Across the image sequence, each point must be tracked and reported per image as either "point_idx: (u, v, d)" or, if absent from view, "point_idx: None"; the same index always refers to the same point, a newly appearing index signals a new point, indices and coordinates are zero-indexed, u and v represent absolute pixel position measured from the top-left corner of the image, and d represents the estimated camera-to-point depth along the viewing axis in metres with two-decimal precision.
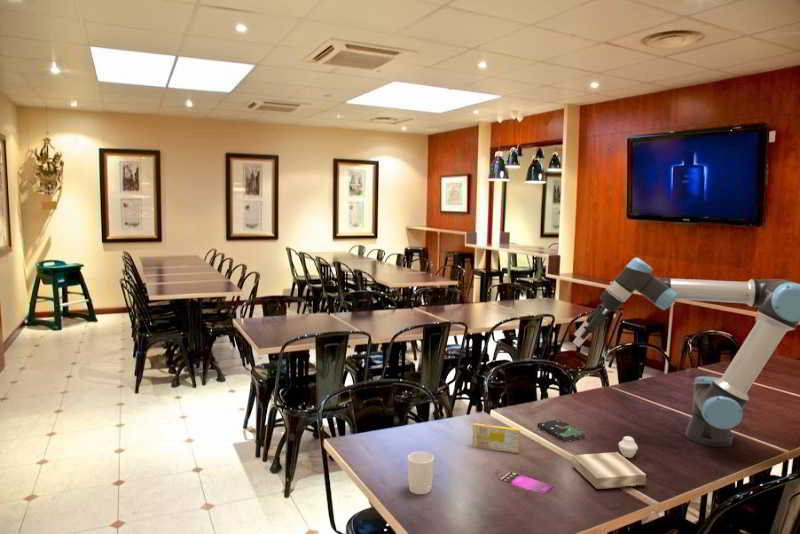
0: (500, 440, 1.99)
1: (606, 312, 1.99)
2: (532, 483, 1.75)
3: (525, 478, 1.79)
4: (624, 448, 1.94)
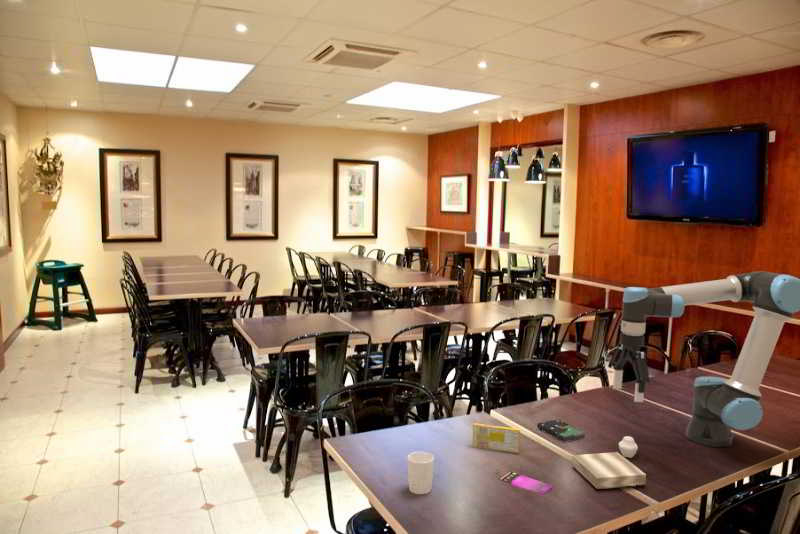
0: (500, 440, 1.99)
1: (644, 355, 1.87)
2: (532, 483, 1.76)
3: (525, 478, 1.79)
4: (624, 448, 1.94)
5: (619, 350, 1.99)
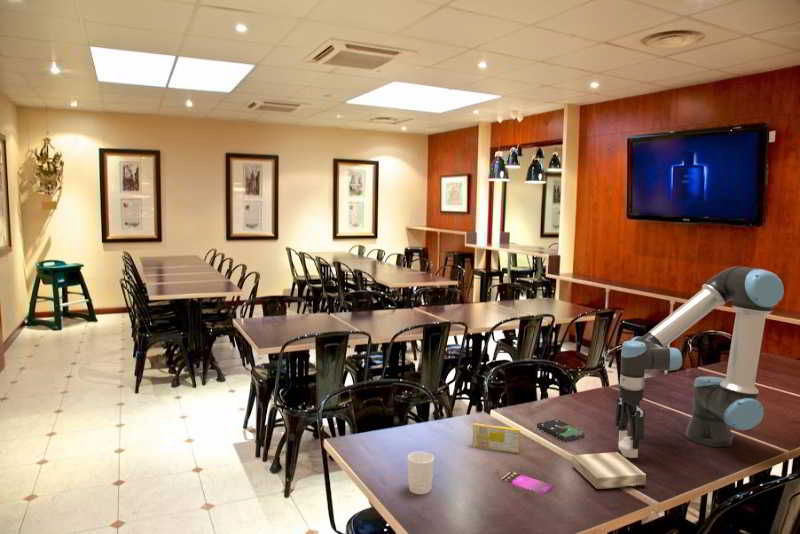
0: (500, 440, 1.99)
1: (643, 414, 1.88)
2: (533, 483, 1.76)
3: (526, 478, 1.79)
4: (624, 448, 1.94)
5: (619, 406, 1.99)
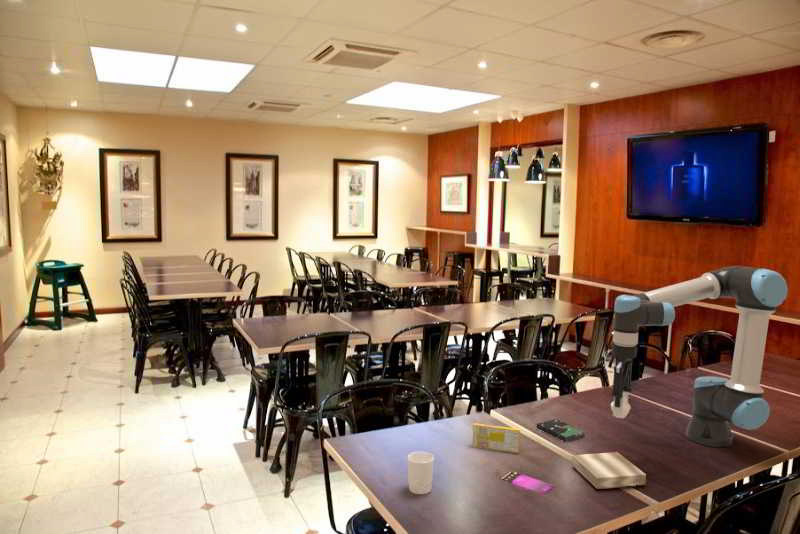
0: (500, 440, 1.99)
1: (620, 370, 1.80)
2: (533, 483, 1.76)
3: (526, 477, 1.79)
4: (611, 405, 1.87)
5: None
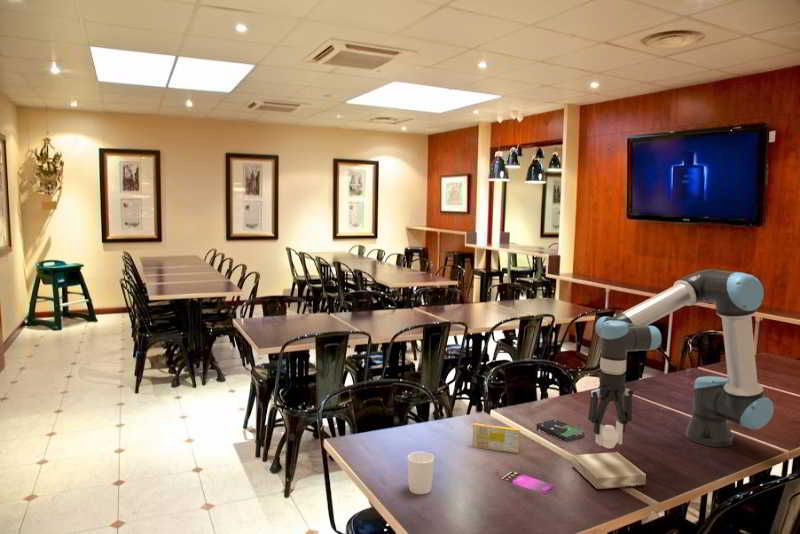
0: (500, 440, 1.99)
1: (592, 395, 1.76)
2: (533, 482, 1.76)
3: (526, 477, 1.79)
4: None
5: (624, 395, 1.80)
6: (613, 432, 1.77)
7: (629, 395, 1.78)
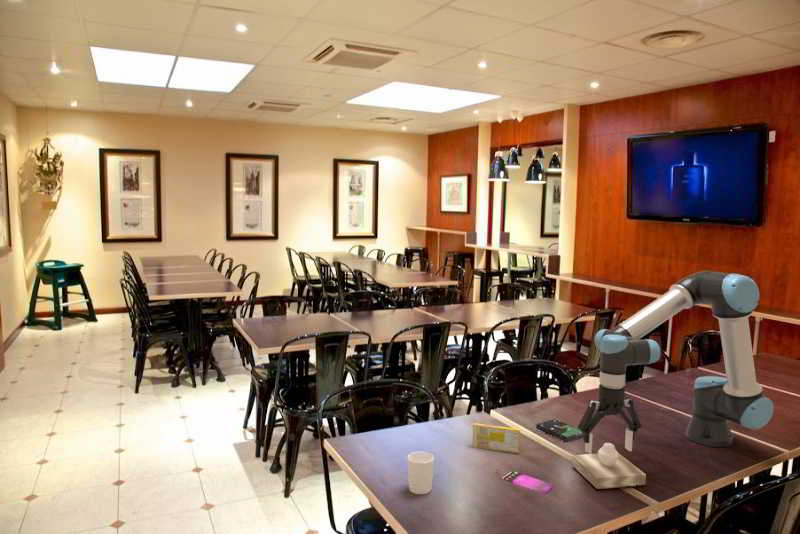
0: (500, 440, 1.99)
1: (591, 404, 1.76)
2: (533, 482, 1.76)
3: (527, 477, 1.79)
4: None
5: (626, 406, 1.80)
6: (612, 450, 1.78)
7: (630, 405, 1.78)
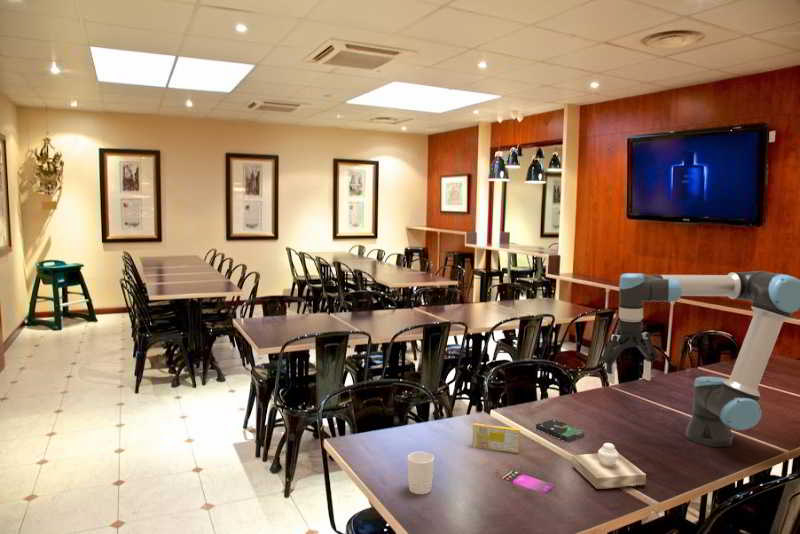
0: (500, 440, 1.99)
1: (613, 337, 1.91)
2: (534, 482, 1.76)
3: (527, 477, 1.79)
4: None
5: (644, 339, 1.96)
6: (612, 450, 1.78)
7: (648, 338, 1.94)
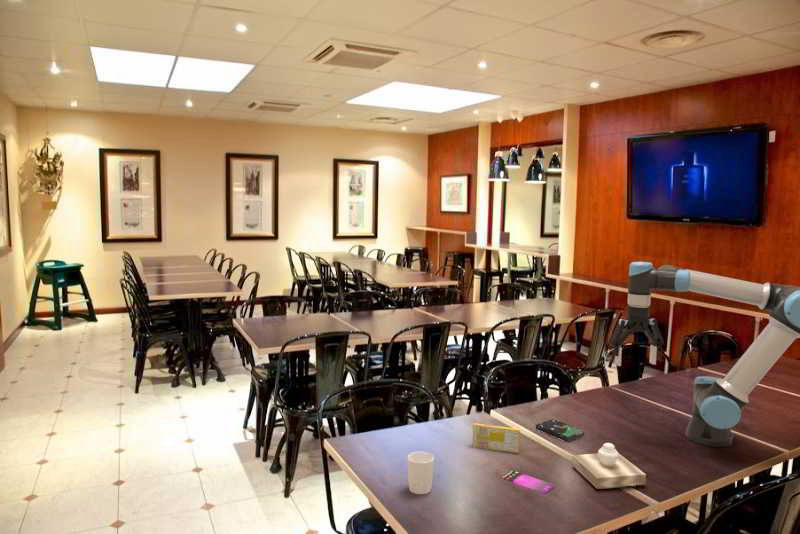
0: (500, 440, 1.99)
1: (621, 322, 2.02)
2: (534, 482, 1.76)
3: (527, 477, 1.79)
4: None
5: (651, 325, 2.06)
6: (612, 450, 1.78)
7: (654, 324, 2.04)
